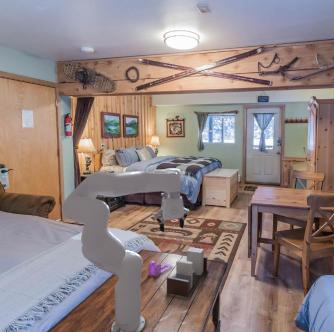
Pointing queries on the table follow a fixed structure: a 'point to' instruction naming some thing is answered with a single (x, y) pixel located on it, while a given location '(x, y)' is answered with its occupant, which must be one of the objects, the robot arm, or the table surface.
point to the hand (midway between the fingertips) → (172, 229)
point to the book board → (183, 283)
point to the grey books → (187, 278)
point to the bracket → (157, 268)
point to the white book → (185, 268)
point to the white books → (196, 259)
